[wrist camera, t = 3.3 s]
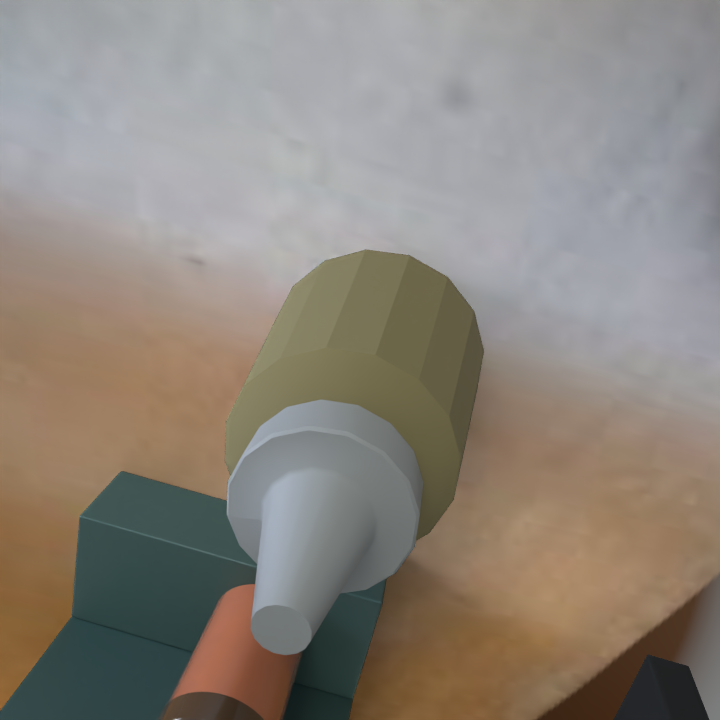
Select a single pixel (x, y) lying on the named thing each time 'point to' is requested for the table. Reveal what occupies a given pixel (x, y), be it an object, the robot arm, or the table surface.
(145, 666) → the dark green stepped block
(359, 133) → the table surface
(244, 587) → the spice jar
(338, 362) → the squeeze bottle
